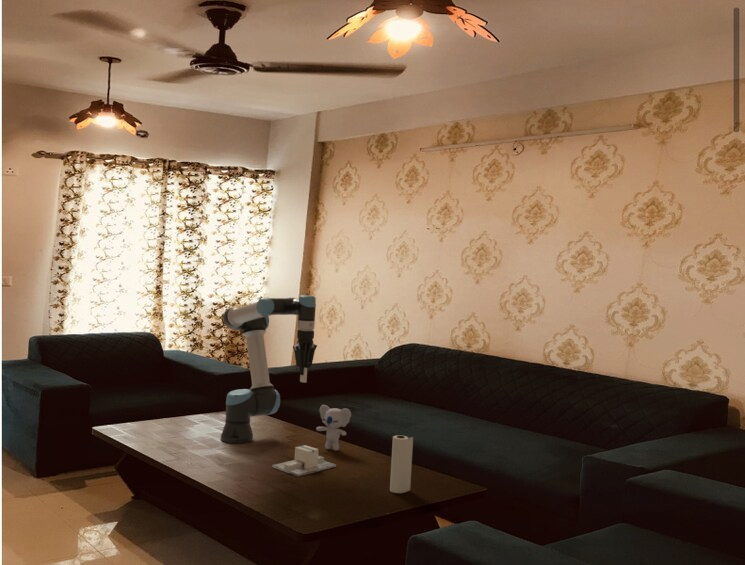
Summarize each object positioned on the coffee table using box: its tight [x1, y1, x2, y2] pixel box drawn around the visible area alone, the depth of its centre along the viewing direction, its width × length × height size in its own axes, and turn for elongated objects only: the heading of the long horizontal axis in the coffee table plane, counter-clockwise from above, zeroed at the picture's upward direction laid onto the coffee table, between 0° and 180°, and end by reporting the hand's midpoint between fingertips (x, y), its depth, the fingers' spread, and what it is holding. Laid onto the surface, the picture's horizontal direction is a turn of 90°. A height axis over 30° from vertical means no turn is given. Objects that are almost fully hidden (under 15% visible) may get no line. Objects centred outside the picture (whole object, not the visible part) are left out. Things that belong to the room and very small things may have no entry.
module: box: [293, 444, 319, 468], centre depth 306 cm, size 8×6×7 cm
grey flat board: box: [271, 455, 337, 477], centre depth 305 cm, size 16×22×3 cm
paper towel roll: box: [389, 434, 414, 494], centre depth 280 cm, size 7×6×21 cm
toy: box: [315, 404, 352, 452], centre depth 335 cm, size 17×10×20 cm, turn 62°
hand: (303, 381), depth 325 cm, fingers closed
